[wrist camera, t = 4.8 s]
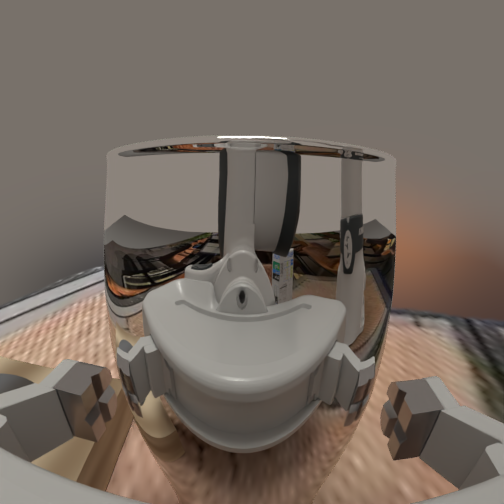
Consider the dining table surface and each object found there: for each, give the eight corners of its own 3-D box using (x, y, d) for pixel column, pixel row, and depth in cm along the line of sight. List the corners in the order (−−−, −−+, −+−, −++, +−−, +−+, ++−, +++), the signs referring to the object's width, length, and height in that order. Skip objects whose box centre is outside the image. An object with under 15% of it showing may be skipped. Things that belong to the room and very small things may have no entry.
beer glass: (180, 467, 14) (151, 161, 11) (311, 469, 14) (350, 165, 11) (158, 574, 7) (25, 149, 4) (330, 577, 7) (477, 158, 4)
